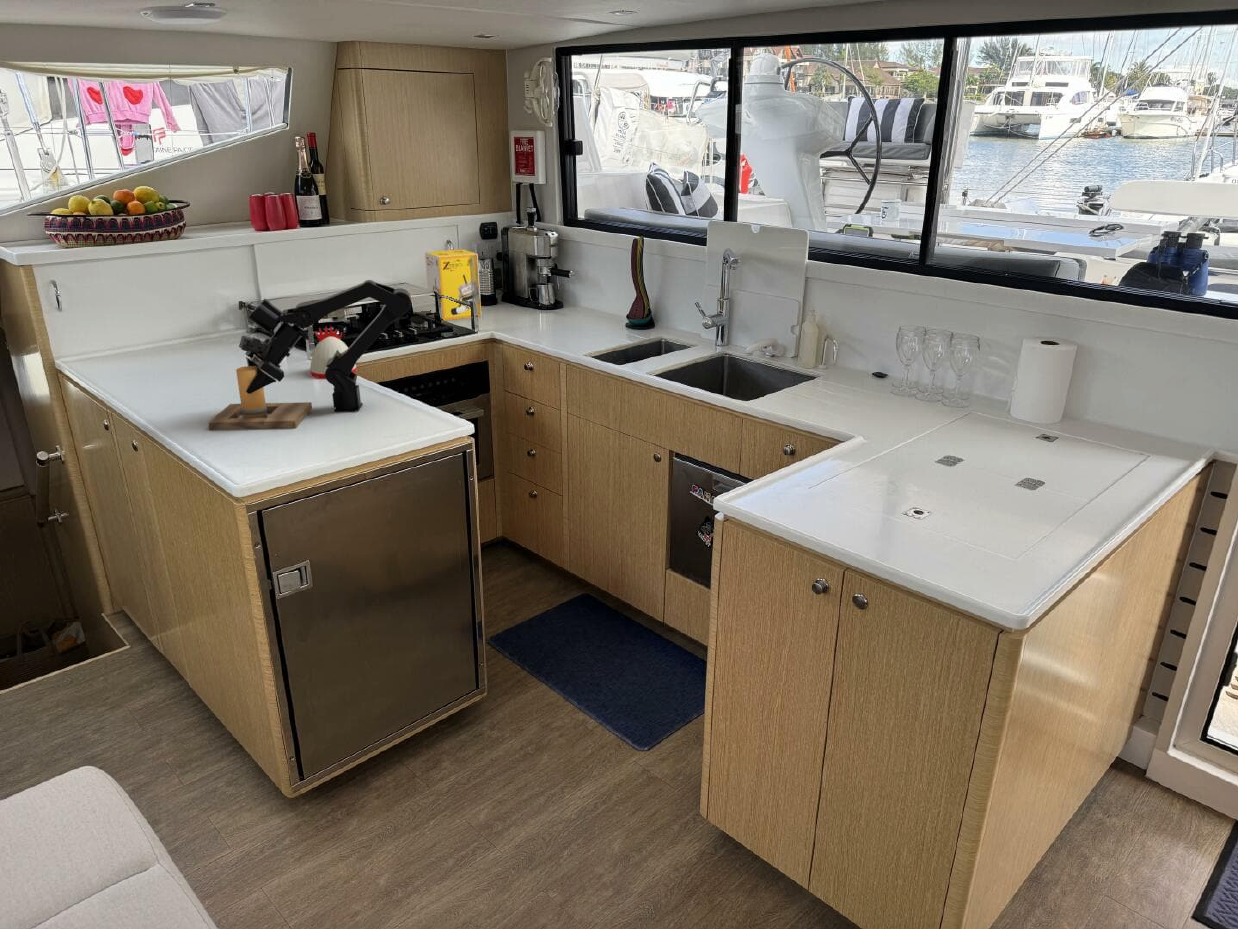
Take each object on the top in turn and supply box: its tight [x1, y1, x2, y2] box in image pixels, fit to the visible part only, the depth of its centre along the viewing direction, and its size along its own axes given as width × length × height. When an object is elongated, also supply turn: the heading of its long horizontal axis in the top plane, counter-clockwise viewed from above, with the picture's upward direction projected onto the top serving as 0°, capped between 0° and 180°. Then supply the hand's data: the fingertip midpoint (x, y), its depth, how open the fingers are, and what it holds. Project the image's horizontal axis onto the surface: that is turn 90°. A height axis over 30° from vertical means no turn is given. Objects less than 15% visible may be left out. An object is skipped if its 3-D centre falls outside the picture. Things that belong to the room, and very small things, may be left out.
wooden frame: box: [207, 401, 313, 431], centre depth 234 cm, size 22×16×2 cm
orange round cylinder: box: [235, 365, 268, 418], centre depth 231 cm, size 6×6×14 cm
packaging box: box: [424, 248, 482, 322], centre depth 354 cm, size 16×16×25 cm
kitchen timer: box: [309, 325, 358, 380], centre depth 274 cm, size 14×14×15 cm
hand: (244, 389), depth 230 cm, fingers open, 7 cm apart
